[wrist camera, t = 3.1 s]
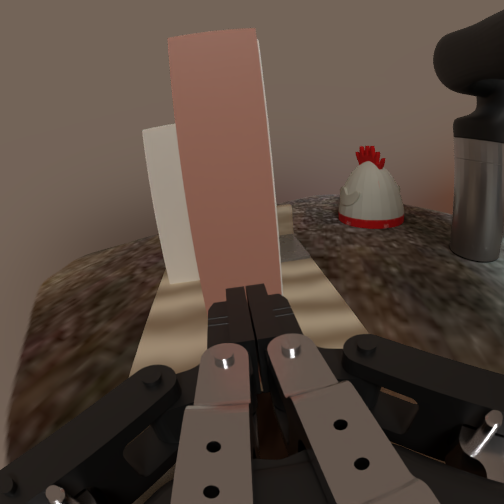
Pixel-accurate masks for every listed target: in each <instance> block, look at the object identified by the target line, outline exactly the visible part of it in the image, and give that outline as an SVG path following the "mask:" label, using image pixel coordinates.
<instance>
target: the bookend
mask: <svg viewBox="0 0 504 504" xmlns="http://www.w3.org/2000/svg"><path fill="white" fill-rule="evenodd" d="M279 244H280V257H281V262H288V261H295V260H302V259H308V258H310V255H309V253H308V252H307V251H306V250H305V248H304V247H303V246H302V245H301V243H300V242H299V241H298V240H297V238H296V237H295V236H294V235H293V234H286V235H279Z"/></svg>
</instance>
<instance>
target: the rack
mask: <svg viewBox="0 0 504 504" xmlns="http://www.w3.org/2000/svg"><path fill="white" fill-rule="evenodd" d="M276 207H277V219H278V231H279V235H286V234H293V220H292V206H291V205H290V204H288V205H279V206H276ZM281 271H282V285H283V296H284V297H285V298H287V299H288V302H289V304H290V306H291V308H292V310H293V313H294V315H295V317H296V319H297V321H298V324H299V326H300V328H301V330H302V332H303V335H305V336H307V337H309V338H310V339H311V340H312V341H313V342H314V344H315V345H316V346H317V347H321V348H332V349H343V345H344V343H345V342H346V340H348V339H349V338H351V337H353V336H355V335H359V334H369V333H368V332H367V330H366V329H365V328H364V326H363V325H362V324H361V322H360V321H359V320H358V318H357V317H356V316H355V314H354V313H353V312H352V310H351V309H350V308H349V306H348V305H347V304H346V302H345V301H344V300H343V298H342V297H341V296H340V294H339V293H338V292H337V290H336V289H335V288H334V287H333V285H332V284H331V283H330V281H329V280H328V279H327V277H326V276H325V275H324V274H323V272H322V271H321V270H320V269H319V267H318V266H317V265H316V263H315V262H314V261H313V260H312V258H311V257H310V258H308V259H302V260H295V261H288V262H281ZM207 329H208V317H207V312H206V308H205V303H204V298H203V293H202V288H201V283H200V280H198V281H190V282H182V283H175V284H170V282H169V278H168V274H167V270H165V273H164V275H163V278H162V281H161V283H160V286H159V289H158V292H157V294H156V297H155V300H154V303H153V305H152V308H151V311H150V314H149V317H148V320H147V323H146V326H145V329H144V332H143V335H142V338H141V341H140V344H139V347H138V350H137V353H136V356H135V359H134V363H133V366H132V369H131V372H130V376H132V375H133V374H134V373H136V372H137V371H139V370H140V369H142V368H144V367H147V366H150V365H158V364H159V365H166V366H168V367H170V368H172V369H173V370H174V371H175V373H176V374H177V373H181V372H184V371H187V370H190V369H192V368H194V367H196V366H197V365H199V364H200V360H201V356H202V354H203V353H204V352H205V351H206V350H207ZM130 376H129V377H130ZM260 385H261V391H263V388H262V383H261V382H260Z"/></svg>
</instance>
